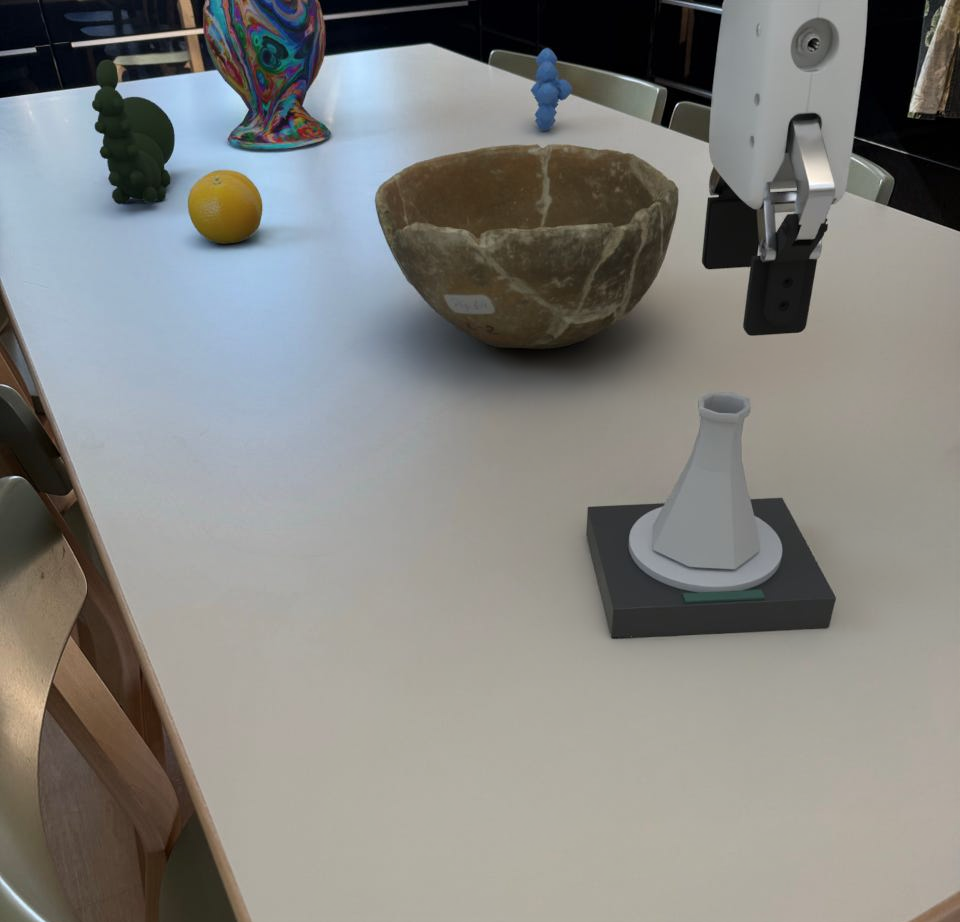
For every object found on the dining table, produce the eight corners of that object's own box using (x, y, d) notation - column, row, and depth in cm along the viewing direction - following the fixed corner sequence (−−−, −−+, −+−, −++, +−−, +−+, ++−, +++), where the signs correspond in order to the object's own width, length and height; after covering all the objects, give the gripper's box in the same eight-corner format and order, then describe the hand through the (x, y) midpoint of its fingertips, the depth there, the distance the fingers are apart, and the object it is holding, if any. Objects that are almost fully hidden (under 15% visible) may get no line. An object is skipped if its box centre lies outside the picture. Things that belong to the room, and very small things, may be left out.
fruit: (195, 254, 122) (181, 184, 117) (195, 233, 129) (182, 166, 124) (269, 248, 124) (258, 178, 119) (265, 227, 130) (255, 160, 125)
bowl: (483, 430, 86) (479, 251, 77) (343, 328, 104) (326, 172, 95) (727, 352, 97) (750, 187, 88) (563, 271, 115) (567, 127, 106)
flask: (669, 503, 71) (684, 368, 65) (772, 526, 69) (798, 388, 62) (634, 557, 66) (647, 417, 60) (744, 584, 64) (770, 440, 57)
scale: (777, 525, 74) (783, 489, 72) (829, 627, 65) (838, 590, 63) (586, 534, 74) (587, 499, 72) (611, 638, 65) (614, 601, 63)
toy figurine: (173, 229, 136) (187, 161, 153) (139, 72, 122) (158, 17, 140) (101, 233, 135) (124, 165, 152) (58, 76, 121) (88, 21, 139)
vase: (200, 140, 165) (159, -86, 146) (294, 120, 175) (266, -95, 156) (263, 160, 155) (228, -80, 136) (359, 137, 164) (338, -91, 145)
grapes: (573, 139, 161) (576, 52, 153) (530, 140, 161) (531, 53, 153) (569, 121, 170) (572, 39, 162) (529, 122, 170) (530, 40, 162)
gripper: (957, -55, 40) (868, 358, 51) (819, -92, 53) (773, 242, 64) (766, -44, 40) (719, 367, 51) (676, -84, 53) (654, 249, 64)
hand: (749, 297), depth 57 cm, fingers open, 9 cm apart
